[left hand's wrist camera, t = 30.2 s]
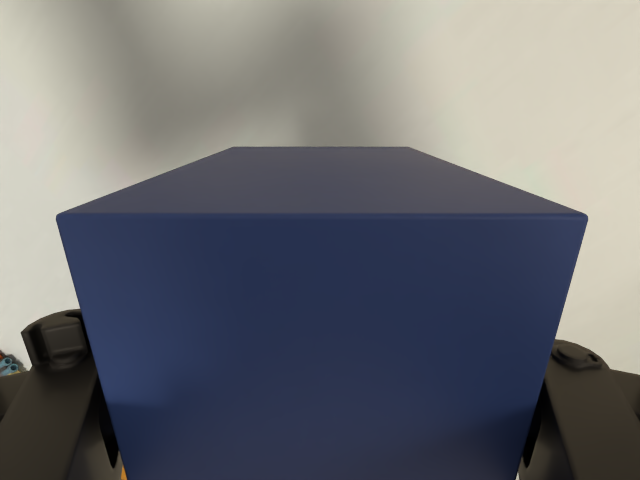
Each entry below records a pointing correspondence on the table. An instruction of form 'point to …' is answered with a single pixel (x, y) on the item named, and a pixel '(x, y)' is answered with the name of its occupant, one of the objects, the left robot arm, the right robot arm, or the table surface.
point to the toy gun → (7, 366)
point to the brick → (321, 315)
